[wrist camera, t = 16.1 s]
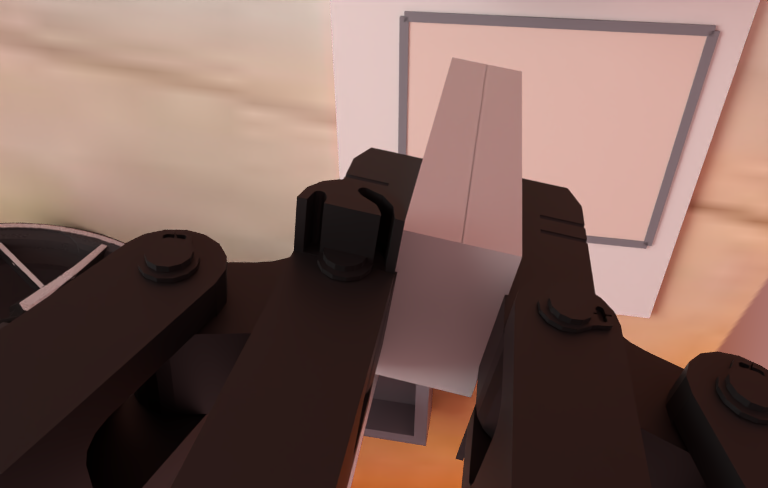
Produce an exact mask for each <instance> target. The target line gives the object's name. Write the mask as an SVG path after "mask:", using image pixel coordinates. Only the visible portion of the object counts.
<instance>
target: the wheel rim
mask: <svg viewBox="0 0 768 488" xmlns="http://www.w3.org/2000/svg"><path fill="white" fill-rule="evenodd" d="M124 244H125V243H123V242H121V241H118V240H115V239H112V238H109V237H106V236H103V235H100V234H97V233H92V232H88V231H83V230H79V229H74V228H70V227H64V226H56V225H48V224H33V223H0V329H1V328H3V327H4V326H6V325H7V324H9V323H10V322H12V321H13V320H15V319H16V318H17V317H19V316H20V315H22V314H23V313H25V312H26V311H28V310H29V309H31V308H32V307H34V306H35V305H36V304H38V303H39V302H41V301H42V300H44V299H45V298H47V297H48V296H50V295H51V294H52V293H54V292H55V291H57V290H58V289H60V288H61V287H63V286H64V285H66V284H67V283H69V282H70V281H71V280H73V279H74V278H76V277H77V276H79V275H80V274H82V273H83V272H85V271H86V270H88V269H89V268H90V267H92V266H93V265H95V264H96V263H98V262H99V261H101V260H102V259H104V258H105V257H107V256H108V255H109V254H111V253H112V252H114V251H115V250H117V249H118V248H120V247H121V246H123V245H124ZM179 471H180V470H179ZM179 471H178V472H177V473H176V475H175V476H174V477H173V478H172V479H171V481H170V482H169V483H168V484H167V485H166V486H165V488H171V486H172V484H173V482H174V480H175V478H176V476H177V474H178V473H179Z"/></svg>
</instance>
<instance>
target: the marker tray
mask: <svg viewBox="0 0 768 488" xmlns="http://www.w3.org/2000/svg"><path fill="white" fill-rule="evenodd" d="M432 394H433V388H430V387H426V386H422V385H418V384H414V383H410V382H406V381H402V380H398V379H394V378H390V377H385V376H381V375H379V376H378V379H377V383H376V387H375V391H374V395H373V399H372V403H371V407H370V411H369V415H368V419H367V423H366V427H365V431H364V435H363V436H368V437H374V438H380V439H387V440H393V441H399V442H405V443H411V444H417V445H423V446H426V442H427V435H428V429H429V423H430V416H431V410H432Z"/></svg>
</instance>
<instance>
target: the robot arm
mask: <svg viewBox="0 0 768 488" xmlns="http://www.w3.org/2000/svg"><path fill="white" fill-rule="evenodd" d="M584 225H585V223H584V217H583V210H582V206H581V205H580V203H579V202H578V201H577V199H576V198H575V197H574V196H573V194H572V193H571V192H570V190H569V189H568V188H565V187H560V186H556V185H551V184H546V183H542V182H537V181H533V180H528V179H524V178H522V71H517V70H512V69H507V68H502V67H497V66H493V65H488V64H483V63H478V62H473V61H468V60H464V59H459V58H454V57H452V60H451V63H450V67H449V70H448V74H447V77H446V81H445V84H444V88H443V91H442V94H441V98H440V101H439V105H438V108H437V112H436V115H435V119H434V122H433V126H432V129H431V133H430V136H429V139H428V143H427V146H426V150H425V153H424V157H423V159H422V158H418V157H413V156H409V155H404V154H399V153H395V152H390V151H386V150H381V149H377V148H372V147H371V148H370V149H368V150H366V151H365V152H363V153H361V154H360V155H358V156H357V157H355V158H353V161H352V163H351V165H350V167H349V169H348V171H347V173H346V176H345V177H344V179H339V180H329V181H322V182H319V183H317V184H314V185H312V186H309V187H307V188H306V189H305V190H304V191H303V192H302V193H301V194H300V195H299V196H297V207H296V223H295V240H294V251H293V253H292V255H291V257H288V258H285V259H281V260H277V261H272V262H258V263H243V262H227V256H226V254H225V253H224V251H223V249H222V248H221V246H220V244H219V243H217V242H216V241H214V240H212V239H211V238H209V237H208V236H206V235H204V234H200V233H196V232H192V231H188V230H162V231H157V232H152V233H147V234H144V235H142V236H140V237H138V238H135V239H133V240H131V241H129V242H127V243H126V244H124V245H123V246H121V247H120V248H118V249H117V250H115V251H114V252H112V253H111V254H109V255H108V256H107V257H105V258H104V259H102V260H101V261H99V262H98V263H96V264H95V265H93V266H92V267H90V268H89V269H88V270H86V271H85V272H83V273H82V274H80V275H79V276H77V277H76V278H74V279H73V280H71V281H70V282H69V283H67V284H66V285H64V286H63V287H61V288H60V289H58V290H57V291H55V292H54V293H52V294H51V295H50V296H48V297H47V298H45V299H44V300H42V301H41V302H39V303H38V304H36V305H35V306H34V307H32V308H31V309H29V310H28V311H26V312H25V313H23V314H22V315H20V316H19V317H17V318H16V319H15V320H13V321H12V322H10V323H9V324H7V325H6V326H4V327H3V328H1V329H0V488H165V486H166V485H167V484H168V483H169V482H170V481H171V479H172V478H173V477H174V476H175V475H176V473H177V472H178V471H179V470H180V471H179V473H178V474H177V476H176V478H175V480H174V482H173V484H172V486H171V488H347V486H348V482H349V478H350V474H351V471H352V467H353V463H354V459H355V455H356V451H357V447H358V443H359V439H360V436H361V432H362V428H363V424H364V420H365V416H366V412H367V408H368V404H369V400H370V395H371V390H372V385H373V380H374V376H375V374H377V375H381V376H385V377H390V378H394V379H398V380H402V381H406V382H410V383H414V384H418V385H422V386H426V387H430V388H434V389H439V390H443V391H447V392H451V393H455V394H459V395H463V396H467V397H471V396H472V393H473V391H474V388H475V385H476V382H477V380H478V384H477V397H476V405H475V407H474V410H473V413H472V415H471V418H470V421H469V423H468V426H467V429H466V431H465V434H464V437H463V439H462V442H461V445H460V447H459V450H458V453H457V456H456V459H459V460H463V459H464V467H463V478H462V488H768V370H767V369H765V368H763V367H762V366H760V365H758V364H756V363H754V362H751V361H749V360H747V359H745V358H742V357H740V356H736V355H732V354H727V353H722V352H710V353H701V354H699V355H698V356H696V357H695V358H694V359H692V360H691V361H690V362H689V363H688V364H687V366H686V367H685V369H683V368H681V367H679V366H676V365H674V364H672V363H670V362H668V361H666V360H664V359H662V358H659V357H657V356H655V355H653V354H651V353H649V352H647V351H645V350H643V349H641V348H639V347H638V346H636V345H634V344H632V343H631V342H629V341H628V340H627V339H625V338H624V337H623V335H622V330H621V325H620V323H619V321H618V319H617V316H616V314H615V312H614V311H613V310H612V309H611V308H610V307H609V305H608V304H607V303H606V302H605V301H604V300H603V299H602V298H601V297H599V296H597V295H596V294H595V288H594V281H593V275H592V268H591V262H590V255H589V249H588V243H586V241H587V236H586V230H585V228H584Z"/></svg>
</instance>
